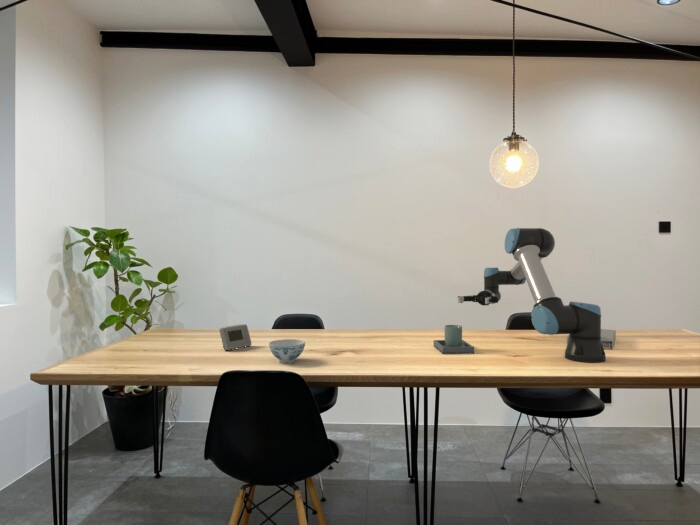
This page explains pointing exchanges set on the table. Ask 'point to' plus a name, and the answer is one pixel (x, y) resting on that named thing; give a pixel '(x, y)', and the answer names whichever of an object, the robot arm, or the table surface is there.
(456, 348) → the tray
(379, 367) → the table surface
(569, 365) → the table surface
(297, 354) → the chinaware
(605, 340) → the power supply unit
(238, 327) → the digital clock
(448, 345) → the cup
